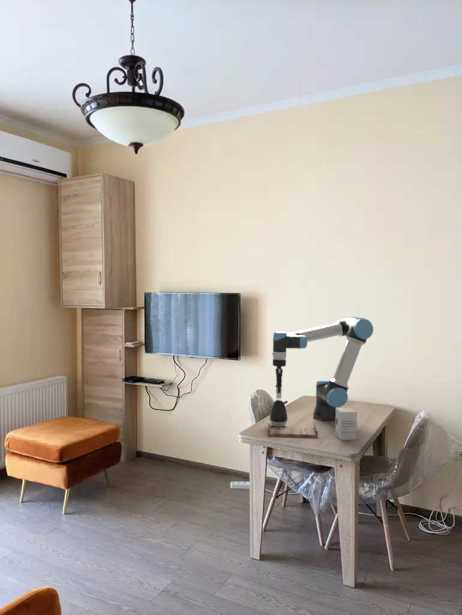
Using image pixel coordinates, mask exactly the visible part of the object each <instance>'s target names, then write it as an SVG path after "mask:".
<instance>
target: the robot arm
mask: <svg viewBox="0 0 462 615" xmlns="http://www.w3.org/2000/svg"><path fill="white" fill-rule="evenodd" d="M373 333H374V326H373V324H372V322H371V321H370V320H369V319H366V318H364V317H356V316H352V317H348V318H343V319H341V320H337V321H336V322H335V323H332V324H331V323H330V324H326V325H321V326H317V327H313V328H308V329H304V330H299V331H295V332H294V331H293V332H286V331H275V332H274V333H273V335H272V336H273V338H272V353H271V355H272V366H273V367H276V368H275V377H276V379H275V381H276V382H275V394H276V396H275V397H276V400H281V399H282V389H283V388H282V387H283V385H282V382H283V380H282V377H283V371H284V370H283V368H282V367H286V364H287V360H286V359H287V349H298V350H302V349H306V348H307V347H308V343H309V342H314V341H319V340H322V339H323V340H324V339H327V338H332V337H337V336H339V337H346V342H345V343H346V344H345V346H344V349H343V351H342V354H341V356H340V359H339V362H338V365H337V367H336V369H335V372H334V375H333V377H332V378H331V379H319V380H317V381H316V382H315V383H316V385H315V388H316V389H315V407H314V410H313V412H312V418H314V419H315V420H318V421H328V422H330V421H336V408H342V407H344V405H346V403H347V402H348V400H349V395H348V390H349V386H348V382H349V380H350V378H351V375H352V372H353V370H354V367H355V364H356V360H358V359H357V358H358V356H359V353H360V350H361V349H362V346H363V345H365V344H366V342H367V340H368V339H370V338H371V337H372V336H373Z"/></svg>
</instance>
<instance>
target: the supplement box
mask: <svg viewBox="0 0 462 615" xmlns="http://www.w3.org/2000/svg"><path fill="white" fill-rule="evenodd" d="M357 421H358V412H357V411H356V410H355V409H353V408H352V407H336V420H335V436H336V438H337V439H339V440H340V441H354V440H355V441H357V432H358V431H357V430H358V429H357V425H358V424H357V423H358V422H357Z"/></svg>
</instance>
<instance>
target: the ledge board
mask: <svg viewBox="0 0 462 615" xmlns="http://www.w3.org/2000/svg"><path fill="white" fill-rule="evenodd" d="M267 428H268V432H267V436H268V437H280V438H281V437H283V438H314V439H315V438H317V439H318V438H319V437H318V428H317V426H316V424H313V428H312V427H310V428H309V427H285V426H283V427H275V426H271V422H270V423H269V422H268V424H267Z"/></svg>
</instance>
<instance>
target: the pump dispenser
mask: <svg viewBox="0 0 462 615" xmlns="http://www.w3.org/2000/svg"><path fill="white" fill-rule="evenodd" d="M287 403H288V400H286V401H283V400H281V399H276V400H275V401H274V402H273V404H272V406H271V409H270V413H269V421H270V425H272V427H285V426H286V425H287V422H288V411H287V407H286V404H287Z"/></svg>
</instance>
